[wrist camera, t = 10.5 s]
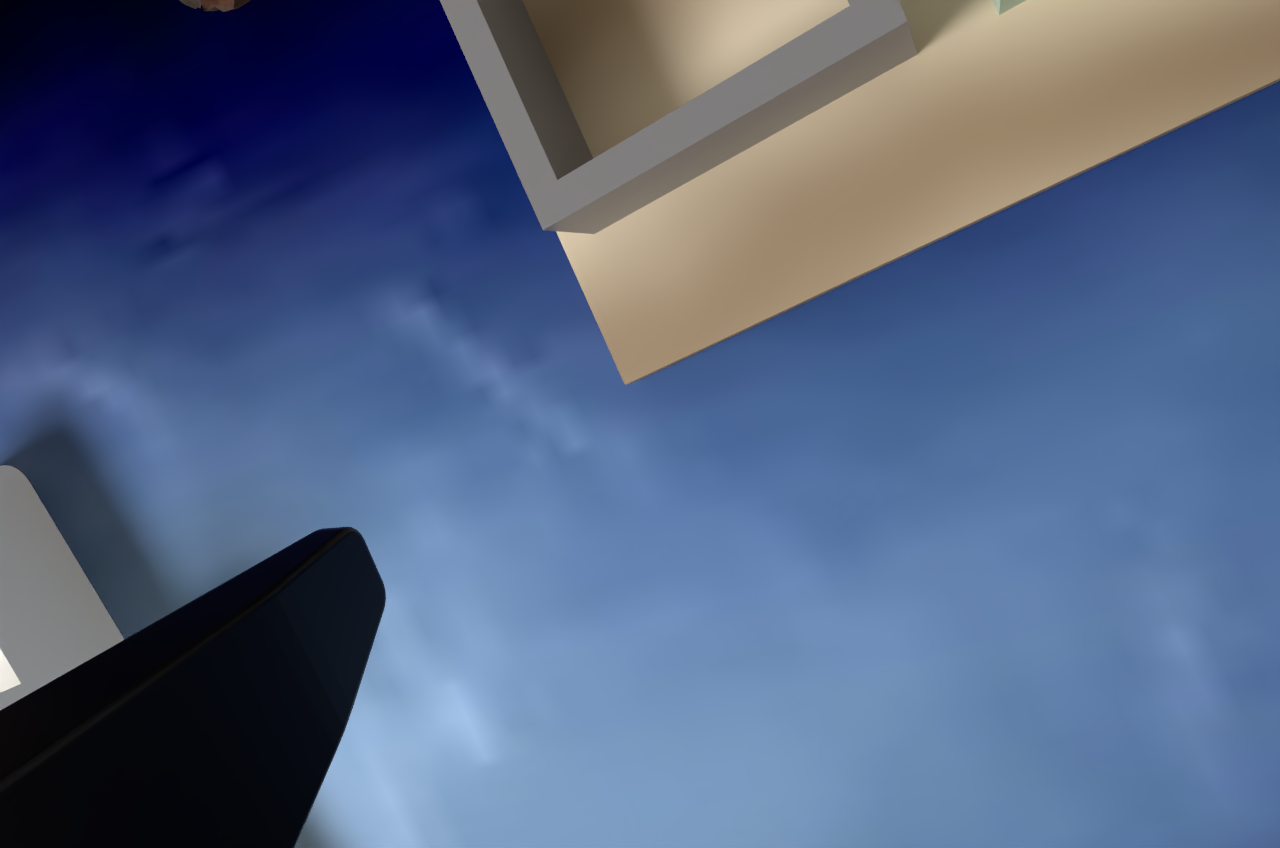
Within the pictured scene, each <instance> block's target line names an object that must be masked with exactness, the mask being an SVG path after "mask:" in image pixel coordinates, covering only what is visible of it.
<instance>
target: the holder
mask: <svg viewBox="0 0 1280 848" xmlns="http://www.w3.org/2000/svg"><path fill="white" fill-rule="evenodd" d="M440 2H441V4H442V6H443V9H444V11H445V13H446V15H447V17H448V20H449V22H450V24H451V26H452V29H453V31H454V33H455V35H456V37H457V40H458V42H459V44H460V46H461V49H462V51H463V53H464V55H465V57H466V60H467V62H468V64H469V66H470V69H471V71H472V73H473V75H474V78H475V80H476V82H477V84H478V86H479V89H480V91H481V93H482V95H483V98H484V100H485V102H486V104H487V106H488V109H489V111H490V113H491V115H492V118H493V120H494V122H495V124H496V127H497V129H498V131H499V133H500V135H501V138H502V140H503V142H504V144H505V147H506V149H507V151H508V153H509V155H510V158H511V160H512V162H513V164H514V167H515V169H516V171H517V173H518V176H519V178H520V180H521V182H522V184H523V187H524V189H525V191H526V193H527V196H528V198H529V200H530V202H531V204H532V207H533V209H534V211H535V213H536V216H537V218H538V220H539V222H540V224H541V227H542V229H543V230H546V231H559V232H572V233H585V234H595V233H597V232H599V231H601V230H603V229H604V228H606V227H608V226H610V225H612V224H613V223H615V222H617V221H619V220H621V219H622V218H624V217H626V216H628V215H630V214H631V213H633V212H635V211H637V210H639V209H640V208H642V207H644V206H646V205H648V204H649V203H651V202H653V201H655V200H657V199H658V198H660V197H662V196H664V195H666V194H667V193H669V192H671V191H673V190H675V189H676V188H678V187H680V186H682V185H684V184H685V183H687V182H689V181H691V180H693V179H694V178H696V177H698V176H700V175H702V174H703V173H705V172H707V171H709V170H711V169H712V168H714V167H716V166H718V165H720V164H721V163H723V162H725V161H727V160H729V159H730V158H732V157H734V156H736V155H738V154H739V153H741V152H743V151H745V150H747V149H748V148H750V147H752V146H754V145H756V144H757V143H759V142H761V141H763V140H765V139H766V138H768V137H770V136H772V135H774V134H775V133H777V132H779V131H781V130H783V129H784V128H786V127H788V126H790V125H792V124H793V123H795V122H797V121H799V120H801V119H802V118H804V117H806V116H808V115H810V114H811V113H813V112H815V111H817V110H819V109H820V108H822V107H824V106H826V105H827V104H829V103H831V102H833V101H835V100H836V99H838V98H840V97H842V96H844V95H845V94H847V93H849V92H851V91H853V90H854V89H856V88H858V87H860V86H862V85H863V84H865V83H867V82H869V81H871V80H872V79H874V78H876V77H878V76H880V75H881V74H883V73H885V72H887V71H889V70H890V69H892V68H894V67H896V66H898V65H899V64H901V63H903V62H905V61H907V60H908V59H910V58H912V57H914V56H916V55H917V52H916V48H915V45H914V41H913V38H912V34H911V31H910V27H909V24H908V21H907V18H906V16H905V14H904V12H903V9H902V7H901V5H900V2H899V0H848V2H849V5H850V6H848V7H847V8H845V9H843V10H842V11H840V12H838V13H837V14H835V15H833V16H832V17H830V18H828V19H827V20H825V21H823V22H822V23H820V24H818V25H817V26H815V27H813V28H812V29H810V30H808V31H807V32H805V33H803V34H802V35H800V36H798V37H796V38H795V39H793V40H791V41H790V42H788V43H786V44H785V45H783V46H781V47H780V48H778V49H776V50H775V51H773V52H771V53H770V54H768V55H766V56H765V57H763V58H761V59H760V60H758V61H756V62H755V63H753V64H751V65H749V66H748V67H746V68H744V69H743V70H741V71H739V72H738V73H736V74H734V75H733V76H731V77H729V78H728V79H726V80H724V81H723V82H721V83H719V84H718V85H716V86H714V87H713V88H711V89H709V90H708V91H706V92H704V93H703V94H701V95H699V96H697V97H696V98H694V99H692V100H691V101H689V102H687V103H686V104H684V105H682V106H681V107H679V108H677V109H676V110H674V111H672V112H671V113H669V114H667V115H666V116H664V117H662V118H661V119H659V120H657V121H656V122H654V123H652V124H651V125H649V126H647V127H645V128H644V129H642V130H640V131H639V132H637V133H635V134H634V135H632V136H630V137H629V138H627V139H625V140H624V141H622V142H620V143H619V144H617V145H615V146H614V147H612V148H610V149H609V150H607V151H605V152H604V153H602V154H600V155H599V156H597V157H595V158H593V157H592V155H591V152H590V150H589V148H588V146H587V143H586V141H585V139H584V137H583V134H582V132H581V130H580V128H579V126H578V123H577V121H576V119H575V117H574V114H573V112H572V110H571V108H570V105H569V103H568V101H567V99H566V97H565V94H564V92H563V90H562V88H561V85H560V83H559V81H558V79H557V76H556V74H555V72H554V70H553V68H552V65H551V63H550V61H549V59H548V56H547V54H546V52H545V50H544V47H543V45H542V43H541V41H540V39H539V36H538V34H537V32H536V30H535V27H534V25H533V23H532V21H531V18H530V16H529V14H528V12H527V10H526V7H525V5H524V3H523V1H522V0H440Z"/></svg>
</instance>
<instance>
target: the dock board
mask: <svg viewBox="0 0 1280 848" xmlns="http://www.w3.org/2000/svg"><path fill="white" fill-rule="evenodd" d="M522 1H523V3H524V5H525V7H526V10H527V12H528V14H529V16H530V18H531V21H532V23H533V25H534V27H535V30H536V32H537V34H538V36H539V39H540V41H541V43H542V45H543V47H544V50H545V52H546V54H547V56H548V59H549V61H550V63H551V65H552V68H553V70H554V72H555V74H556V76H557V79H558V81H559V83H560V85H561V88H562V90H563V92H564V94H565V97H566V99H567V101H568V103H569V105H570V108H571V110H572V112H573V114H574V117H575V119H576V121H577V123H578V126H579V128H580V130H581V132H582V134H583V137H584V139H585V141H586V143H587V146H588V148H589V150H590V152H591V155H592V157H593V158H595V157H597V156H599V155H600V154H602V153H604V152H605V151H607V150H609V149H610V148H612V147H614V146H615V145H617V144H619V143H620V142H622V141H624V140H625V139H627V138H629V137H630V136H632V135H634V134H635V133H637V132H639V131H640V130H642V129H644V128H645V127H647V126H649V125H651V124H652V123H654V122H656V121H657V120H659V119H661V118H662V117H664V116H666V115H667V114H669V113H671V112H672V111H674V110H676V109H677V108H679V107H681V106H682V105H684V104H686V103H687V102H689V101H691V100H692V99H694V98H696V97H697V96H699V95H701V94H703V93H704V92H706V91H708V90H709V89H711V88H713V87H714V86H716V85H718V84H719V83H721V82H723V81H724V80H726V79H728V78H729V77H731V76H733V75H734V74H736V73H738V72H739V71H741V70H743V69H744V68H746V67H748V66H749V65H751V64H753V63H755V62H756V61H758V60H760V59H761V58H763V57H765V56H766V55H768V54H770V53H771V52H773V51H775V50H776V49H778V48H780V47H781V46H783V45H785V44H786V43H788V42H790V41H791V40H793V39H795V38H796V37H798V36H800V35H802V34H803V33H805V32H807V31H808V30H810V29H812V28H813V27H815V26H817V25H818V24H820V23H822V22H823V21H825V20H827V19H828V18H830V17H832V16H833V15H835V14H837V13H838V12H840V11H842V10H843V9H845V8H847V7H848V6H850V5H849V2H848V0H522ZM899 2H900V5H901V7H902V9H903V12H904V14H905V16H906V18H907V21H908V24H909V27H910V31H911V34H912V38H913V41H914V45H915V48H916V52H917V55H916V56H914V57H912V58H910V59H908V60H907V61H905V62H903V63H901V64H899V65H898V66H896V67H894V68H892V69H890V70H889V71H887V72H885V73H883V74H881V75H880V76H878V77H876V78H874V79H872V80H871V81H869V82H867V83H865V84H863V85H862V86H860V87H858V88H856V89H854V90H853V91H851V92H849V93H847V94H845V95H844V96H842V97H840V98H838V99H836V100H835V101H833V102H831V103H829V104H827V105H826V106H824V107H822V108H820V109H819V110H817V111H815V112H813V113H811V114H810V115H808V116H806V117H804V118H802V119H801V120H799V121H797V122H795V123H793V124H792V125H790V126H788V127H786V128H784V129H783V130H781V131H779V132H777V133H775V134H774V135H772V136H770V137H768V138H766V139H765V140H763V141H761V142H759V143H757V144H756V145H754V146H752V147H750V148H748V149H747V150H745V151H743V152H741V153H739V154H738V155H736V156H734V157H732V158H730V159H729V160H727V161H725V162H723V163H721V164H720V165H718V166H716V167H714V168H712V169H711V170H709V171H707V172H705V173H703V174H702V175H700V176H698V177H696V178H694V179H693V180H691V181H689V182H687V183H685V184H684V185H682V186H680V187H678V188H676V189H675V190H673V191H671V192H669V193H667V194H666V195H664V196H662V197H660V198H658V199H657V200H655V201H653V202H651V203H649V204H648V205H646V206H644V207H642V208H640V209H639V210H637V211H635V212H633V213H631V214H630V215H628V216H626V217H624V218H622V219H621V220H619V221H617V222H615V223H613V224H612V225H610V226H608V227H606V228H604V229H603V230H601V231H599V232H597V233H595V234H585V233H572V232H559V231H556V232H557V234H558V237H559V239H560V241H561V243H562V246H563V248H564V250H565V252H566V254H567V257H568V259H569V261H570V263H571V266H572V268H573V270H574V272H575V274H576V277H577V279H578V281H579V283H580V286H581V288H582V290H583V292H584V295H585V297H586V299H587V301H588V303H589V306H590V308H591V310H592V312H593V315H594V317H595V319H596V321H597V323H598V326H599V328H600V330H601V332H602V335H603V337H604V339H605V341H606V344H607V346H608V348H609V350H610V352H611V355H612V357H613V359H614V361H615V364H616V366H617V368H618V370H619V372H620V375H621V377H622V379H623V381H624V384H625V385H626V384H629V383H632V382H635V381H638V380H641V379H643V378H645V377H647V376H649V375H652V374H654V373H656V372H658V371H660V370H662V369H664V368H667V367H669V366H671V365H673V364H675V363H677V362H679V361H682V360H684V359H686V358H688V357H690V356H692V355H694V354H697V353H699V352H701V351H703V350H705V349H707V348H709V347H712V346H714V345H716V344H718V343H720V342H722V341H724V340H727V339H729V338H731V337H733V336H735V335H737V334H739V333H742V332H744V331H746V330H748V329H750V328H752V327H754V326H756V325H759V324H761V323H763V322H765V321H767V320H769V319H771V318H774V317H776V316H778V315H780V314H782V313H784V312H786V311H789V310H791V309H793V308H795V307H797V306H799V305H801V304H804V303H806V302H808V301H810V300H812V299H814V298H816V297H819V296H821V295H823V294H825V293H827V292H829V291H831V290H834V289H836V288H838V287H840V286H842V285H844V284H846V283H848V282H851V281H853V280H855V279H857V278H859V277H861V276H863V275H866V274H868V273H870V272H872V271H874V270H876V269H878V268H881V267H883V266H885V265H887V264H889V263H891V262H893V261H896V260H898V259H900V258H902V257H904V256H906V255H908V254H911V253H913V252H915V251H917V250H919V249H921V248H923V247H926V246H928V245H930V244H932V243H934V242H936V241H938V240H940V239H943V238H945V237H947V236H949V235H951V234H953V233H955V232H958V231H960V230H962V229H964V228H966V227H968V226H970V225H973V224H975V223H977V222H979V221H981V220H983V219H985V218H988V217H990V216H992V215H994V214H996V213H998V212H1000V211H1003V210H1005V209H1007V208H1009V207H1011V206H1013V205H1015V204H1018V203H1020V202H1022V201H1024V200H1026V199H1028V198H1030V197H1032V196H1035V195H1037V194H1039V193H1041V192H1043V191H1045V190H1047V189H1050V188H1052V187H1054V186H1056V185H1058V184H1060V183H1062V182H1065V181H1067V180H1069V179H1071V178H1073V177H1075V176H1077V175H1080V174H1082V173H1084V172H1086V171H1088V170H1090V169H1092V168H1095V167H1097V166H1099V165H1101V164H1103V163H1105V162H1107V161H1110V160H1112V159H1114V158H1116V157H1118V156H1120V155H1122V154H1125V153H1127V152H1129V151H1131V150H1133V149H1135V148H1137V147H1139V146H1142V145H1144V144H1146V143H1148V142H1150V141H1152V140H1154V139H1157V138H1159V137H1161V136H1163V135H1165V134H1167V133H1169V132H1172V131H1174V130H1176V129H1178V128H1180V127H1182V126H1184V125H1187V124H1189V123H1191V122H1193V121H1195V120H1197V119H1199V118H1202V117H1204V116H1206V115H1208V114H1210V113H1212V112H1214V111H1217V110H1219V109H1221V108H1223V107H1225V106H1227V105H1229V104H1231V103H1234V102H1236V101H1238V100H1240V99H1242V98H1244V97H1246V96H1249V95H1251V94H1253V93H1255V92H1257V91H1259V90H1261V89H1264V88H1266V87H1268V86H1270V85H1272V84H1274V83H1276V82H1279V81H1280V0H1026V1H1024V2H1022V3H1021V4H1019V5H1017V6H1015V7H1013V8H1012V9H1010V10H1008V11H1006V12H1004V13H1003V14H1001V15H999V14H998V12H997V10H996V7H995V5H994V3H993V1H992V0H899Z"/></svg>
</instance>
